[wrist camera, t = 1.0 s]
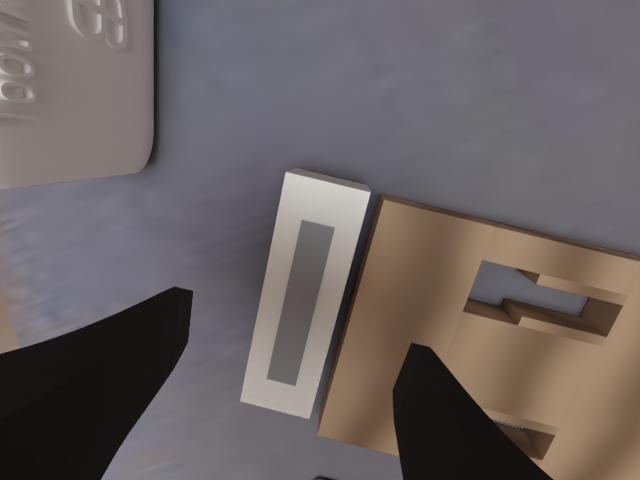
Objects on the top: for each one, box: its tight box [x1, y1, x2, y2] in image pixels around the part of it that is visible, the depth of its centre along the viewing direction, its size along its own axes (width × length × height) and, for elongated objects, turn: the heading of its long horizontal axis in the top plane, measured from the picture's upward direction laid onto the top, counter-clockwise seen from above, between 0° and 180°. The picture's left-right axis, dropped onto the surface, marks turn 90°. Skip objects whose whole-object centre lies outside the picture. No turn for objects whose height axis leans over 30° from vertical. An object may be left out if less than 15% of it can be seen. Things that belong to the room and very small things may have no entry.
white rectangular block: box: [240, 168, 371, 419], centre depth 20 cm, size 13×4×5 cm, turn 167°
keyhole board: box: [317, 194, 640, 480], centre depth 22 cm, size 20×16×2 cm
